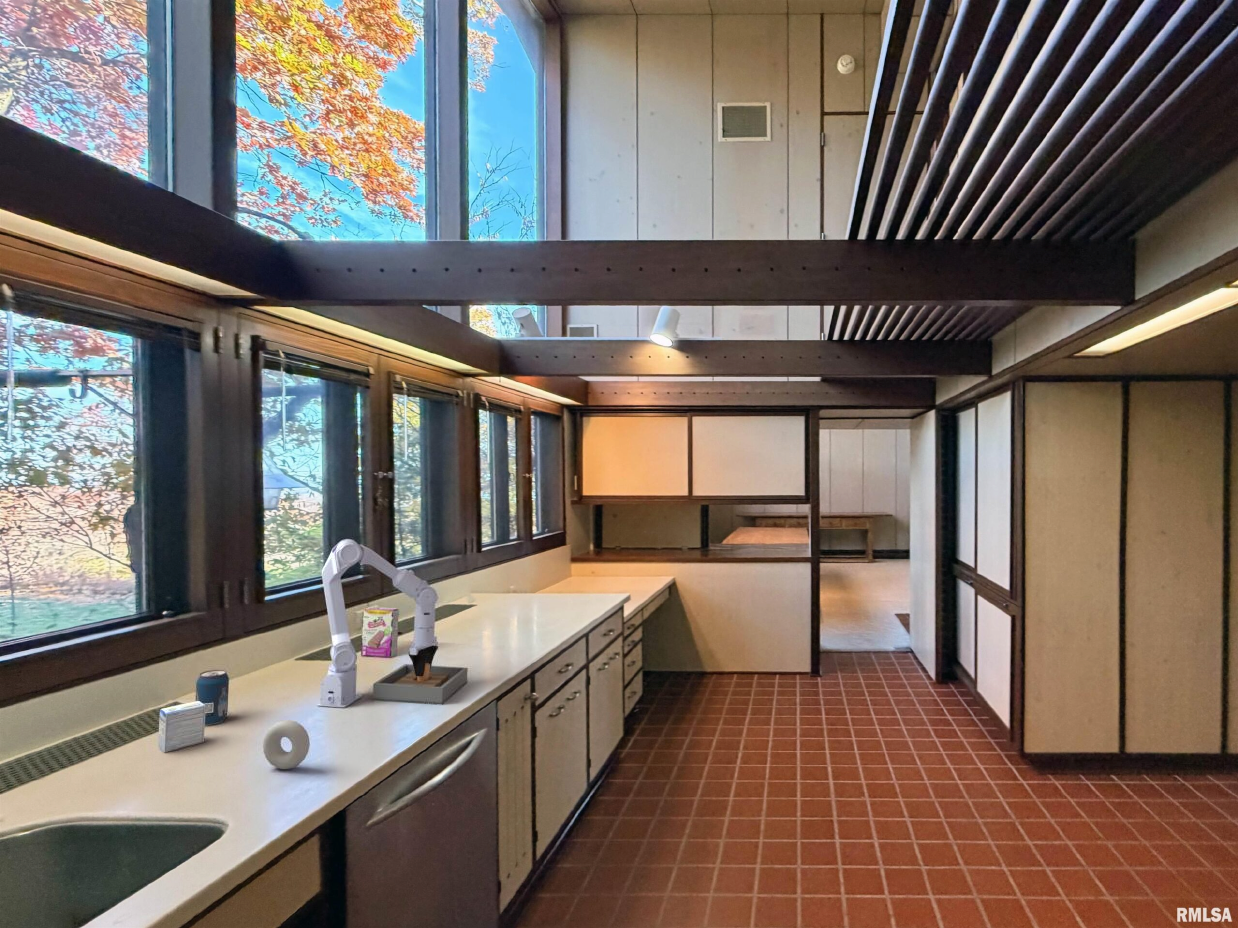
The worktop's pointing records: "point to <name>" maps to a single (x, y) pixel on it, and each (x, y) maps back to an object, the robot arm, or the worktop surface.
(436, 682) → the socket block
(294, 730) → the donut
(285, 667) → the worktop surface
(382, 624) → the candy bar box
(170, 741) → the medicine box
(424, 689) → the tray
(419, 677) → the peg
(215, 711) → the soda can
